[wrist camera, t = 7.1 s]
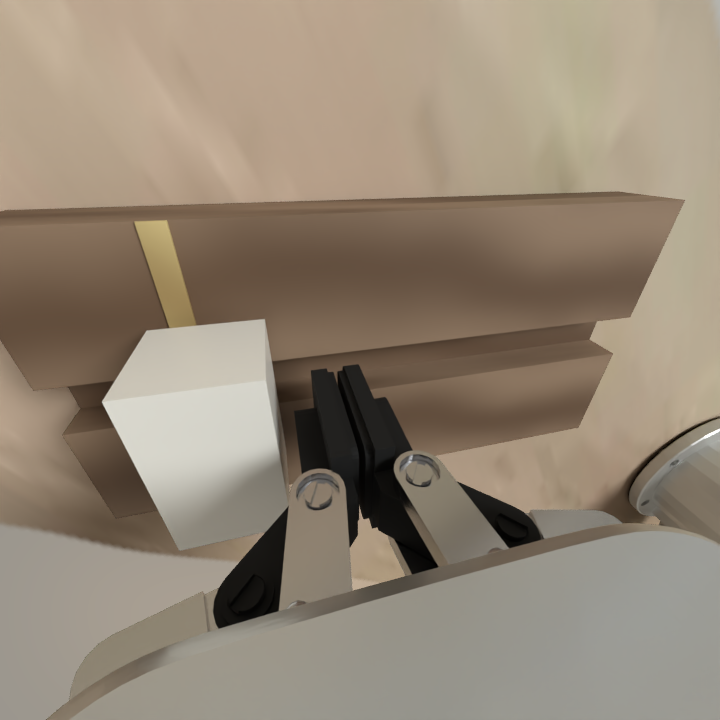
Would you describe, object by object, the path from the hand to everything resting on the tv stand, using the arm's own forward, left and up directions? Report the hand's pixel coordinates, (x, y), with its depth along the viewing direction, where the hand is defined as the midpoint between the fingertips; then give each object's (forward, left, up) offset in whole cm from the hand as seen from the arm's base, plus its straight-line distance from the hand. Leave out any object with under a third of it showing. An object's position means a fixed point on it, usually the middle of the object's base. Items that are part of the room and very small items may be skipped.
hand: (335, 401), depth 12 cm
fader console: (0, -2, -5) cm, 5 cm away
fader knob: (0, +4, -3) cm, 5 cm away
